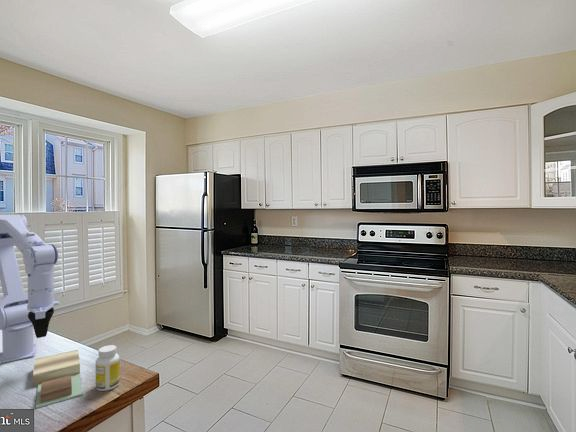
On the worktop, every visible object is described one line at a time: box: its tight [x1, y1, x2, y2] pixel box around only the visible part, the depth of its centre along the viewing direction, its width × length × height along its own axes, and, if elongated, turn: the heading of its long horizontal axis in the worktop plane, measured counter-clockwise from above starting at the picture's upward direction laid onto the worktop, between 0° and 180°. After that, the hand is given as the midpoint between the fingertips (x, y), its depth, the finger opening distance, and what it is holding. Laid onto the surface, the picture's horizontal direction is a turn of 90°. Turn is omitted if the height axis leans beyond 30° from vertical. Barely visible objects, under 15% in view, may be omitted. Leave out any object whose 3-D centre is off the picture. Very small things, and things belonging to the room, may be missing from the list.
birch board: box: [32, 349, 81, 387], centre depth 87 cm, size 10×10×3 cm
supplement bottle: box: [95, 344, 121, 392], centre depth 81 cm, size 5×5×10 cm
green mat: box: [35, 373, 84, 409], centre depth 79 cm, size 11×9×1 cm
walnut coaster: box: [40, 375, 72, 403], centre depth 77 cm, size 6×6×2 cm
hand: (41, 336), depth 88 cm, fingers closed
